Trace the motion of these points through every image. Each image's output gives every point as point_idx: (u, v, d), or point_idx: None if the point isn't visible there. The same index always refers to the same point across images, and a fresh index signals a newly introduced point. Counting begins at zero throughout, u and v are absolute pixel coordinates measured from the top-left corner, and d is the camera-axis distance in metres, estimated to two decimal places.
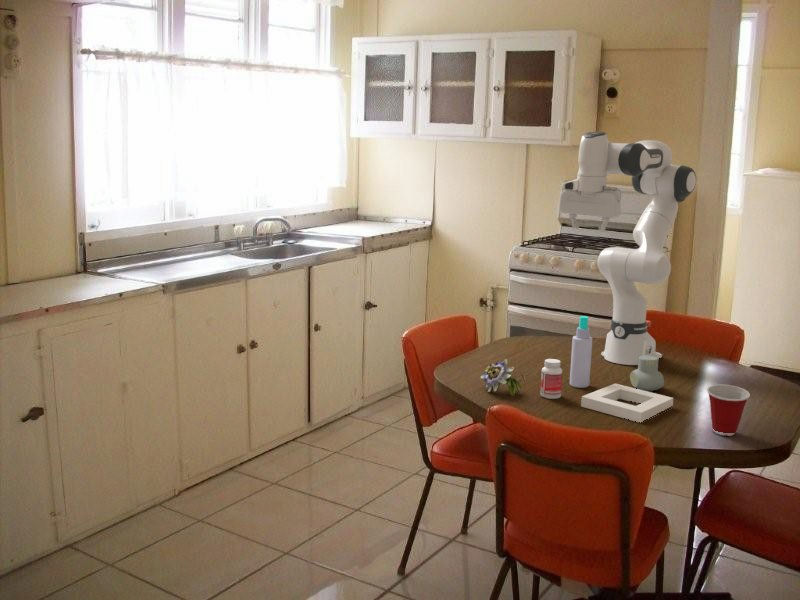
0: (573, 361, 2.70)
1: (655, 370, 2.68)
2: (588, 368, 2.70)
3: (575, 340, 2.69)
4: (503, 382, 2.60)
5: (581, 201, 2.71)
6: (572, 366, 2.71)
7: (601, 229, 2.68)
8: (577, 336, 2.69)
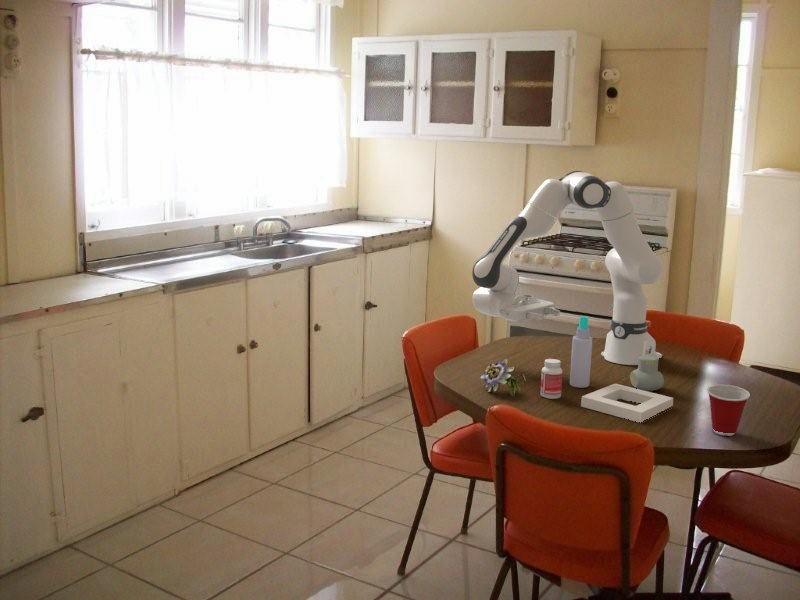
0: (573, 361, 2.70)
1: (655, 370, 2.68)
2: (588, 368, 2.70)
3: (575, 340, 2.69)
4: (503, 382, 2.60)
5: None
6: (572, 366, 2.71)
7: (539, 319, 2.74)
8: (577, 336, 2.69)
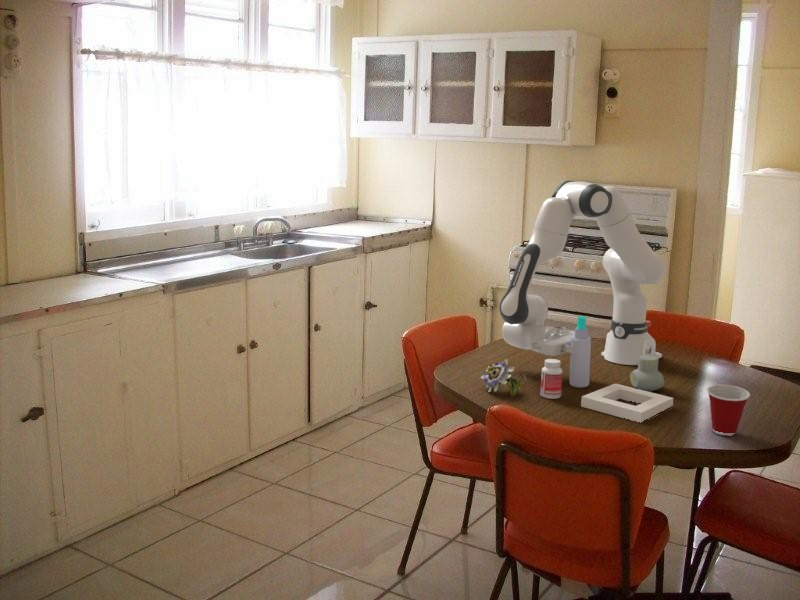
0: (572, 361, 2.70)
1: (655, 370, 2.68)
2: (587, 368, 2.70)
3: (573, 341, 2.68)
4: (503, 382, 2.60)
5: None
6: (571, 366, 2.71)
7: None
8: (575, 336, 2.69)
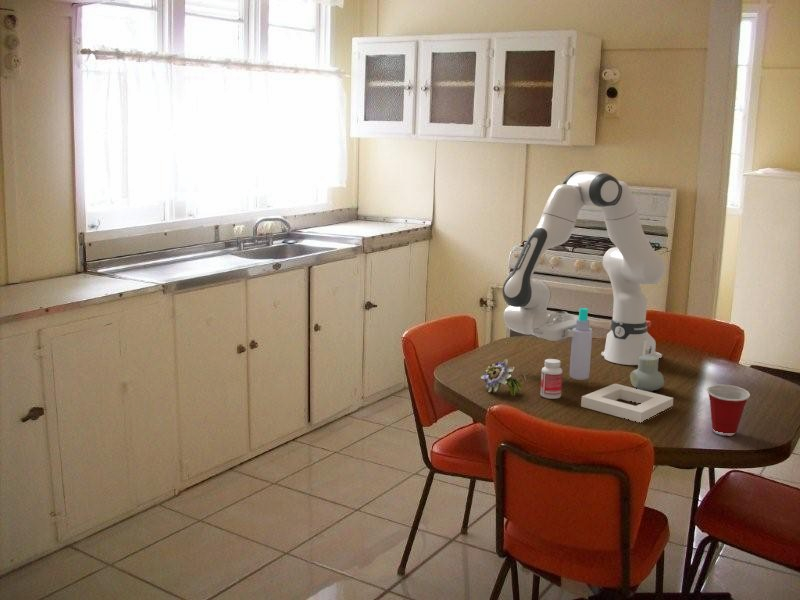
0: (572, 353, 2.70)
1: (655, 370, 2.68)
2: (587, 360, 2.69)
3: None
4: (503, 382, 2.60)
5: None
6: (571, 358, 2.70)
7: None
8: (576, 328, 2.68)
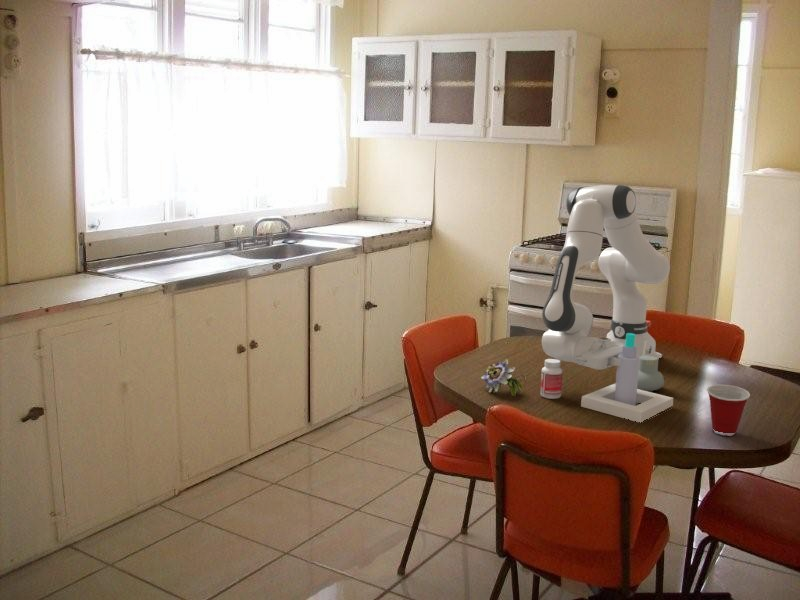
0: (617, 382, 2.50)
1: (655, 370, 2.68)
2: (634, 389, 2.49)
3: None
4: (504, 382, 2.60)
5: None
6: (617, 387, 2.51)
7: None
8: (623, 355, 2.49)
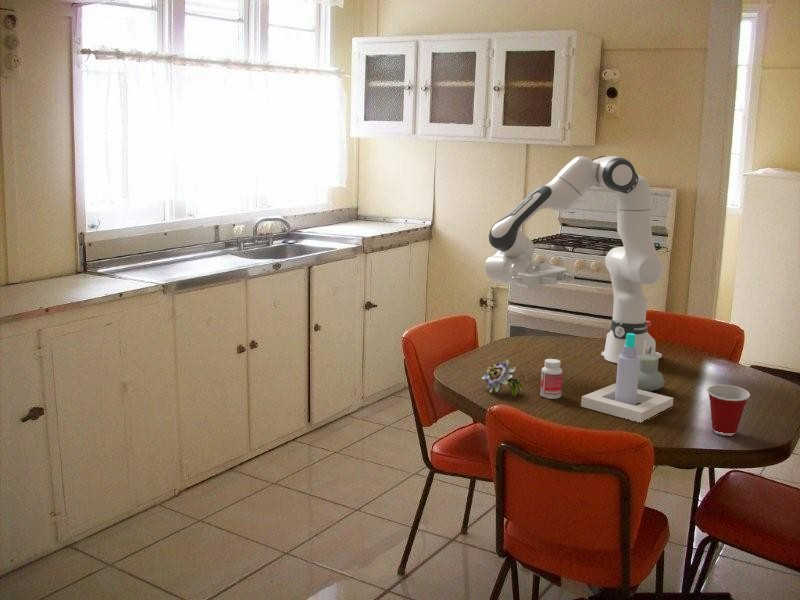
0: (618, 382, 2.50)
1: (655, 370, 2.68)
2: (634, 389, 2.49)
3: (621, 359, 2.49)
4: (505, 383, 2.59)
5: None
6: (617, 387, 2.51)
7: None
8: (623, 355, 2.49)
